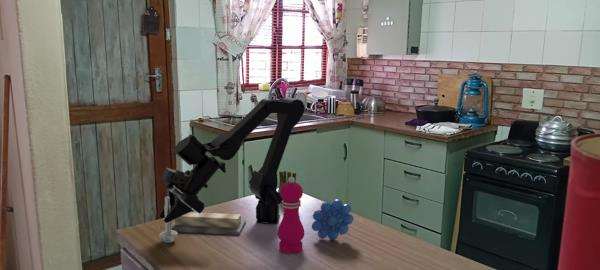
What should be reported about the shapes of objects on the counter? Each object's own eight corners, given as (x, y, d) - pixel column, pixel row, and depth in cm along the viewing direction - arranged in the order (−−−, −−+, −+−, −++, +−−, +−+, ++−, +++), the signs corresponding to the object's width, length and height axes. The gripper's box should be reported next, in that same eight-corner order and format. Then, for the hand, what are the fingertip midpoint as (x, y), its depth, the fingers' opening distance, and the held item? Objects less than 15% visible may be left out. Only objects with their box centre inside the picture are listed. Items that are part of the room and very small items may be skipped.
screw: (162, 237, 130) (179, 237, 130) (157, 244, 125) (175, 245, 125) (161, 193, 127) (178, 193, 127) (155, 198, 123) (173, 199, 123)
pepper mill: (301, 255, 120) (302, 181, 116) (274, 253, 121) (274, 179, 117) (306, 244, 127) (307, 174, 123) (280, 241, 128) (281, 172, 124)
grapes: (352, 234, 134) (353, 195, 132) (353, 244, 127) (354, 202, 125) (312, 233, 135) (313, 193, 132) (310, 242, 128) (311, 201, 126)
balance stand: (245, 223, 141) (245, 211, 141) (239, 234, 132) (239, 222, 132) (178, 220, 143) (178, 208, 142) (168, 231, 134) (168, 219, 133)
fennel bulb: (297, 204, 159) (297, 171, 156) (288, 208, 155) (288, 174, 153) (284, 201, 162) (284, 168, 160) (275, 204, 158) (275, 171, 156)
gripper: (169, 150, 133) (132, 193, 129) (191, 165, 117) (149, 213, 114) (196, 173, 139) (161, 215, 135) (221, 190, 123) (181, 237, 119)
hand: (162, 219), depth 126 cm, fingers open, 4 cm apart
